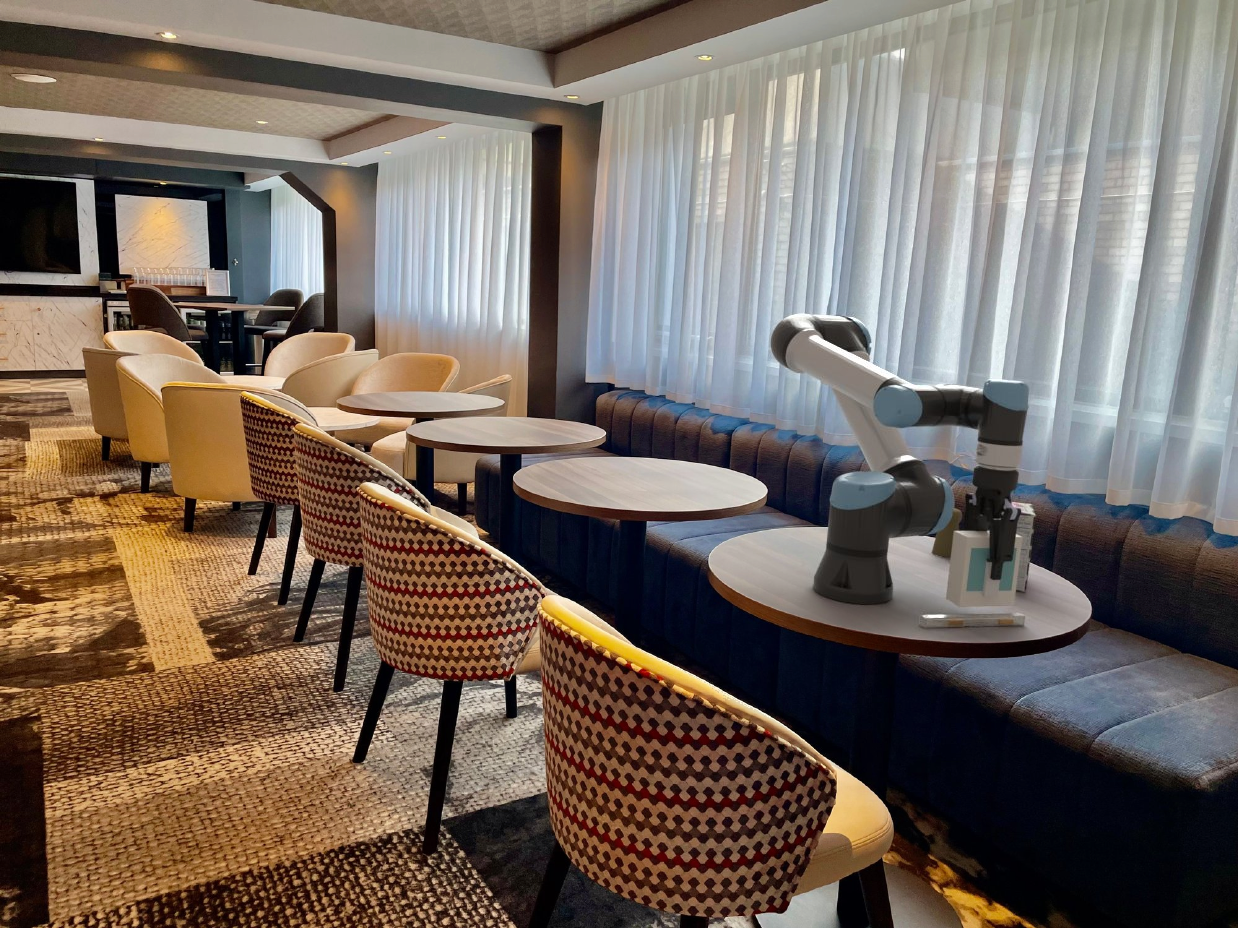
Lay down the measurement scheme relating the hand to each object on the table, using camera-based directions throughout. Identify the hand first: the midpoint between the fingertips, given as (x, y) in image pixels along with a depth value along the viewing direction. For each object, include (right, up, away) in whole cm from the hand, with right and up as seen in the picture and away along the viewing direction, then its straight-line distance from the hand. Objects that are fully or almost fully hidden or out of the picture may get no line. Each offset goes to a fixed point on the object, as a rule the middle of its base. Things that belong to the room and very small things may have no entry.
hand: (981, 590), depth 166 cm
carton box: (0, -2, 0) cm, 2 cm away
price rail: (-3, -6, -4) cm, 8 cm away
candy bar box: (+16, -2, +23) cm, 28 cm away
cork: (+9, +2, +44) cm, 45 cm away
